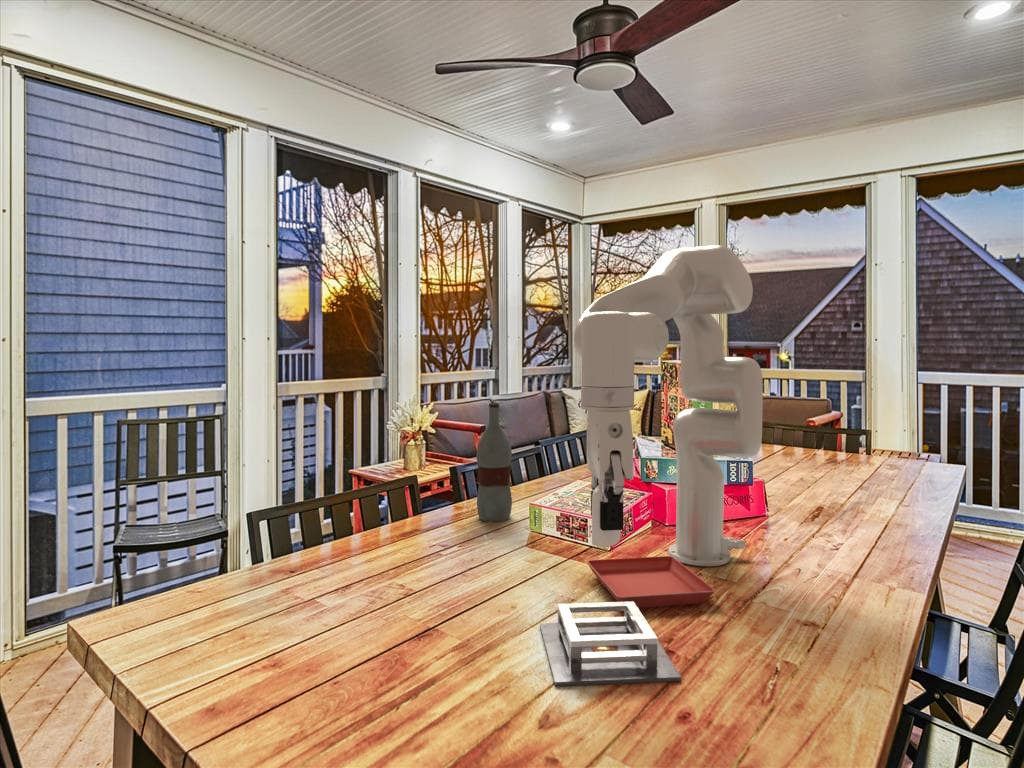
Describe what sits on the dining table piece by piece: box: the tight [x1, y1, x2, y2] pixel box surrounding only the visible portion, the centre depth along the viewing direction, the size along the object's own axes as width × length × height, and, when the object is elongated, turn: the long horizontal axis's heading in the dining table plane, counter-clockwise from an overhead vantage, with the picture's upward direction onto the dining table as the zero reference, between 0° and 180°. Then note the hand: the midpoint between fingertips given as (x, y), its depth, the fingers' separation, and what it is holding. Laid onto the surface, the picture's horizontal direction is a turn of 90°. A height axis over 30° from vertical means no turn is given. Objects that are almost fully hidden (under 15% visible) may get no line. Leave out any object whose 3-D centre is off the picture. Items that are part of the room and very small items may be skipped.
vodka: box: [476, 402, 513, 522], centre depth 158 cm, size 9×9×30 cm
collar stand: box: [539, 601, 682, 687], centre depth 89 cm, size 17×17×5 cm
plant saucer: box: [586, 555, 716, 609], centre depth 112 cm, size 18×18×3 cm
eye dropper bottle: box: [591, 472, 622, 548], centre depth 88 cm, size 4×6×12 cm
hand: (606, 522), depth 88 cm, fingers closed on eye dropper bottle, 5 cm apart
